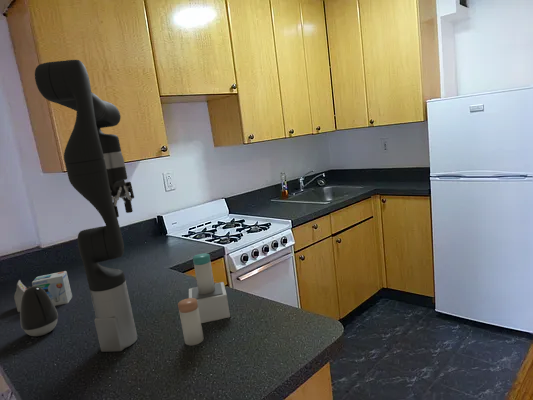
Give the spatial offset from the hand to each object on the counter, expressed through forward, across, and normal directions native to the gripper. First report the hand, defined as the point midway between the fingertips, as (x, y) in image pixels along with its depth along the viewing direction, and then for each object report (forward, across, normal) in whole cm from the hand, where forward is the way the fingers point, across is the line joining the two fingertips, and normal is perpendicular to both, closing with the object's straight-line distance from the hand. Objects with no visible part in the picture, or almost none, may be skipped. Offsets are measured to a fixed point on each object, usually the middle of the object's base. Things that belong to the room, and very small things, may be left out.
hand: (122, 215), depth 130 cm
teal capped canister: (+25, -10, -29) cm, 39 cm away
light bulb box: (+31, +4, +38) cm, 49 cm away
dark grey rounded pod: (+32, -18, +25) cm, 44 cm away
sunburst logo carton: (+31, +2, +49) cm, 58 cm away
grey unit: (+32, -10, -29) cm, 44 cm away
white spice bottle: (+33, -25, -30) cm, 51 cm away
